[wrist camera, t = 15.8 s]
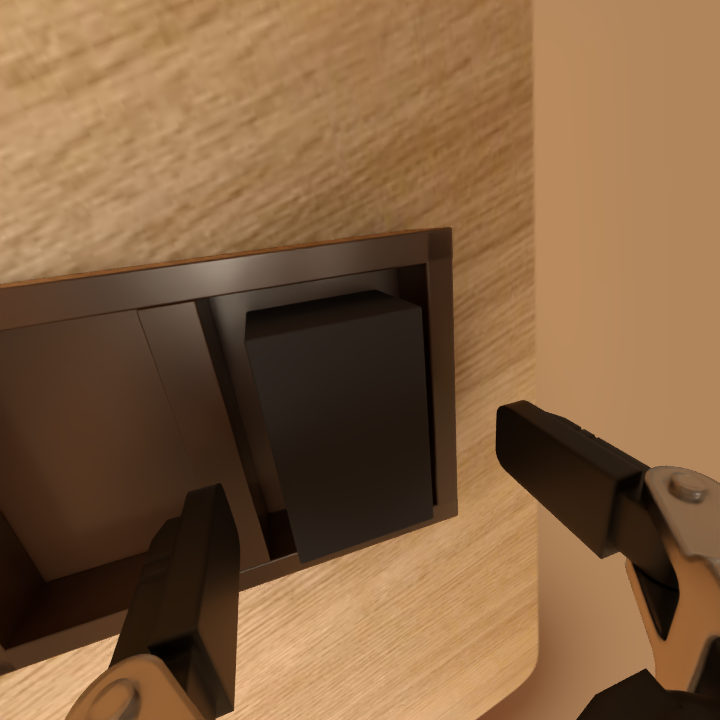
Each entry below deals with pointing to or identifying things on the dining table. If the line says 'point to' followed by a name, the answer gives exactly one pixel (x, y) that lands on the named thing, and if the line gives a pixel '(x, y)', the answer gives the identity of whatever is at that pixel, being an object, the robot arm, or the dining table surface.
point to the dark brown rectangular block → (344, 416)
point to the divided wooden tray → (171, 419)
